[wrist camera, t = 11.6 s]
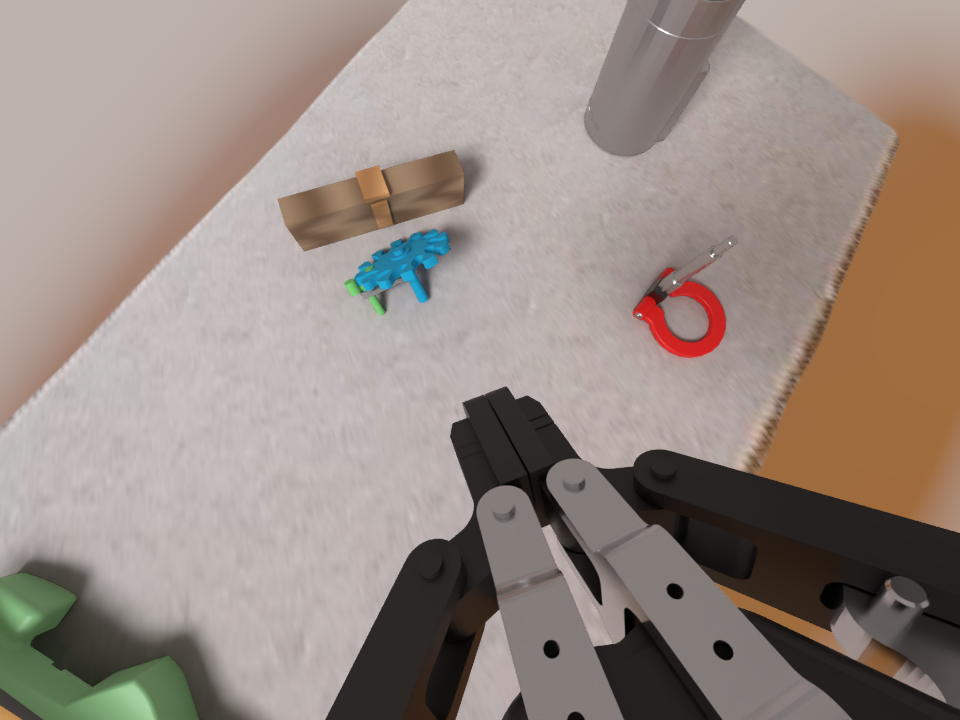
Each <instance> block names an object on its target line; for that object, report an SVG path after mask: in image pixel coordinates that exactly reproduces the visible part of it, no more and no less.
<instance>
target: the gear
mask: <svg viewBox="0 0 960 720" xmlns="http://www.w3.org/2000/svg"><path fill="white" fill-rule="evenodd" d="M449 242H450V240H449V237H448V235H447V232H443V233H440V234H439V233H438V231H437V230H436V229H433V230H431V231H429V232H428V233H427V234H425V235H424V236H423V234H422V232H418V233H414V234H412V235H411V236H410V238H409V239H408V240H407V241H406V242H405V243H403V241H402V239H400V240H397V241H395V242H392V243H391V247H392V248H391V249H390V251H389V252H388V253H386V254H385V253H384V251H383V250H380V251H378V252H376V253H374V254H373V255H372V257H373V259H374V261H375V263H372V264H370V262H365V263H363V264H362V265H361V266H360V267H359V268H358V269H359V271H360V272H359V273H357V274H356V276H355V278H354V279H355V280H354V279H350V280H348V281H346V282H345V283H344V284H345V286H346V288H347V289H348V291H349V292H350V294H351V295H352V296H355V295H357V294H359V293H360V294H361V295H362V297H363V298H364V299H367V298H369V300H370V301H371V303H372V305H373V306H374V308H375V309H376V311H377V313H378V314H379V315H382V314H384V313H385V310H384V309H383V307H382V305H381V304H380V302H379V300H378V299H377V297H376V294H378V293H380V292H382V291H384V290H386V289H389V288H391V287H393V286H395V285H397V284H399V283H401V282H403V281H404V282H406V281H409V283H410V285H411V287H412V289H413V290H414V292H415V294H416V296H417V298H418V300H419V302H420V303H423V302H425V301H427V300H428V296H427V294H426V292H425V290H424V288H423V286H422V284H421V282H420V280H419V278H418V276H417V273H418V270H417V267H418V266H419V265H420V264H424V266H425V268H426V269H429V268H431V267H433V266H434V265H436V264H437V263H438V260H437V258H436V256H435V254H434V253H437V254H438V255H444V254H446V253H447V252H448V251H449V250H450V246H449V244H448V243H449ZM356 282H357V283H356ZM357 284H358V285H357Z"/></svg>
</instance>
